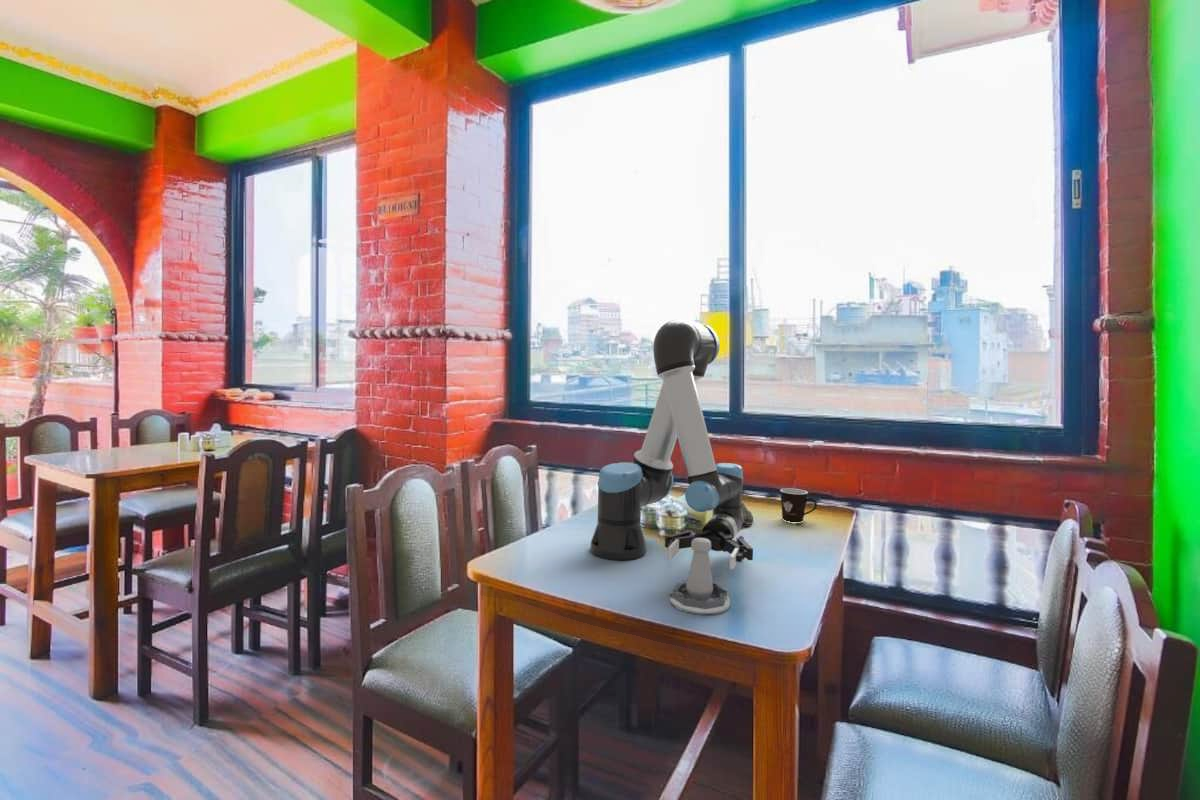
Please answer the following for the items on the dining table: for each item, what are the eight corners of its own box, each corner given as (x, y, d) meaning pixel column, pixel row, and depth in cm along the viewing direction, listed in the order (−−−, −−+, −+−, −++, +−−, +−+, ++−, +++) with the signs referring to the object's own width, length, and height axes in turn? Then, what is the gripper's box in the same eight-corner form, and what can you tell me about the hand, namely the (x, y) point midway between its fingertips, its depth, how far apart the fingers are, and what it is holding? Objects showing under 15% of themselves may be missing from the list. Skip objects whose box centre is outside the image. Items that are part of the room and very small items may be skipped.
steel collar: (663, 608, 125) (663, 597, 125) (676, 586, 137) (677, 576, 137) (725, 619, 121) (725, 607, 121) (733, 595, 133) (734, 585, 133)
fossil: (755, 527, 186) (740, 499, 186) (728, 538, 188) (713, 510, 188) (754, 517, 196) (740, 490, 196) (729, 528, 199) (715, 501, 199)
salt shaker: (692, 590, 133) (694, 533, 132) (716, 596, 130) (719, 538, 129) (681, 598, 128) (683, 539, 127) (706, 605, 125) (708, 544, 124)
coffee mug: (773, 518, 200) (775, 489, 199) (795, 516, 202) (797, 487, 202) (794, 528, 189) (796, 497, 188) (817, 526, 191) (819, 495, 190)
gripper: (770, 554, 144) (758, 584, 125) (670, 540, 154) (644, 565, 134) (771, 524, 144) (759, 549, 124) (671, 511, 153) (645, 533, 134)
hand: (699, 558), depth 129 cm, fingers open, 13 cm apart
